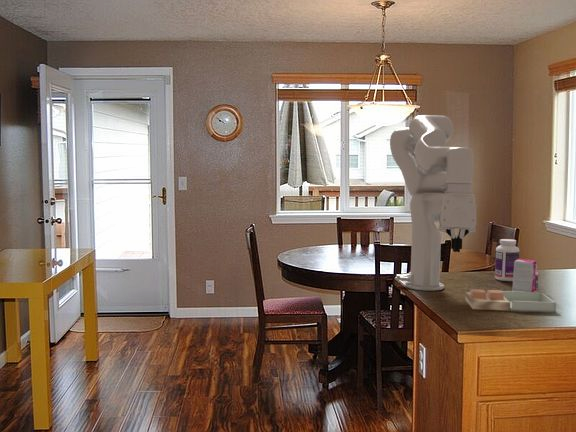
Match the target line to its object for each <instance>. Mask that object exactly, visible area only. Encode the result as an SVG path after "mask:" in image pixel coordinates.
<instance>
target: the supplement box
mask: <svg viewBox="0 0 576 432" xmlns="http://www.w3.org/2000/svg"><path fill="white" fill-rule="evenodd" d="M536 265H537V260H531V259H525V258H524V259H523V258H519V259H517V260H515V261H514V274H513V281H512V287H511V288H512V289H511V291H518V292H534V285H535V272H536V271H537V270H536Z"/></svg>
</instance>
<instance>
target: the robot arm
mask: <svg viewBox="0 0 576 432" xmlns="http://www.w3.org/2000/svg"><path fill="white" fill-rule="evenodd" d="M453 134H454V124H453V122H452V120H451V118H450V117H448V116H447V115H434V114H433V115H431V114H423V115H422V114H421V115H416V116H415V117H413V118H412V119H411V120H410V122H409V124H408V127H401V128H397V129H396V130H394V131H393V132H392V133H391V135H390V138H389V139H390V140H389V145H390V147H389V148H390V153H391V155H392V159H393V161H395V164H396V165H397V167H398V168H399V170H400V172H401V173H402V176H403V177H402V178H403V180H404V182H405V185H406V189H407V190H408V193H409V195H410V196H411V199H410V202H409V209H410V210H409V211H410V218H411V219H410V220H411V252H410V253H411V255H410V271H409V272H408V273H406V274H396V276H395V277H396V281H402V282H404V281H405V283H404V284H405V287H406V288H407V289H410V290H411V289H412V290H415V291H425V292H426V291H427V292H429V291H430V292H432V291H441V290H443V289H444V287H445V284H444V283H442V282H440V274H441V273H440V272H441V249H442V247H441V245H442V235H441V232H443V233H446V234H447V235H448V236H449V237H450V249H451V250H452V252H454V253H460V252H461V250H462V249H463V239H464V238H465V237H466V236H467V235H468V234H472V233H475V232H477V229H476V226H477V204H476V203H477V202H476V196H475V195H476V194H473V193H472V192H473V168H474V150H473V148H470V147H465V146H463V147H462V146H461V147H460V146H459V147H458V146H446V144H447V143H448V142H449V141H450V140H451V138H452V136H453ZM438 222H439V226H438V227H437V226H436V224H435V223H438ZM456 229H459V230H458V235H457V236H456Z"/></svg>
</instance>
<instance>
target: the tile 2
mask: <svg viewBox="0 0 576 432" xmlns="http://www.w3.org/2000/svg"><path fill="white" fill-rule="evenodd" d="M502 291H503V290H501V289H487V290H486V293H487V296H488V298H489V299H504V293H503V292H502Z"/></svg>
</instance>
